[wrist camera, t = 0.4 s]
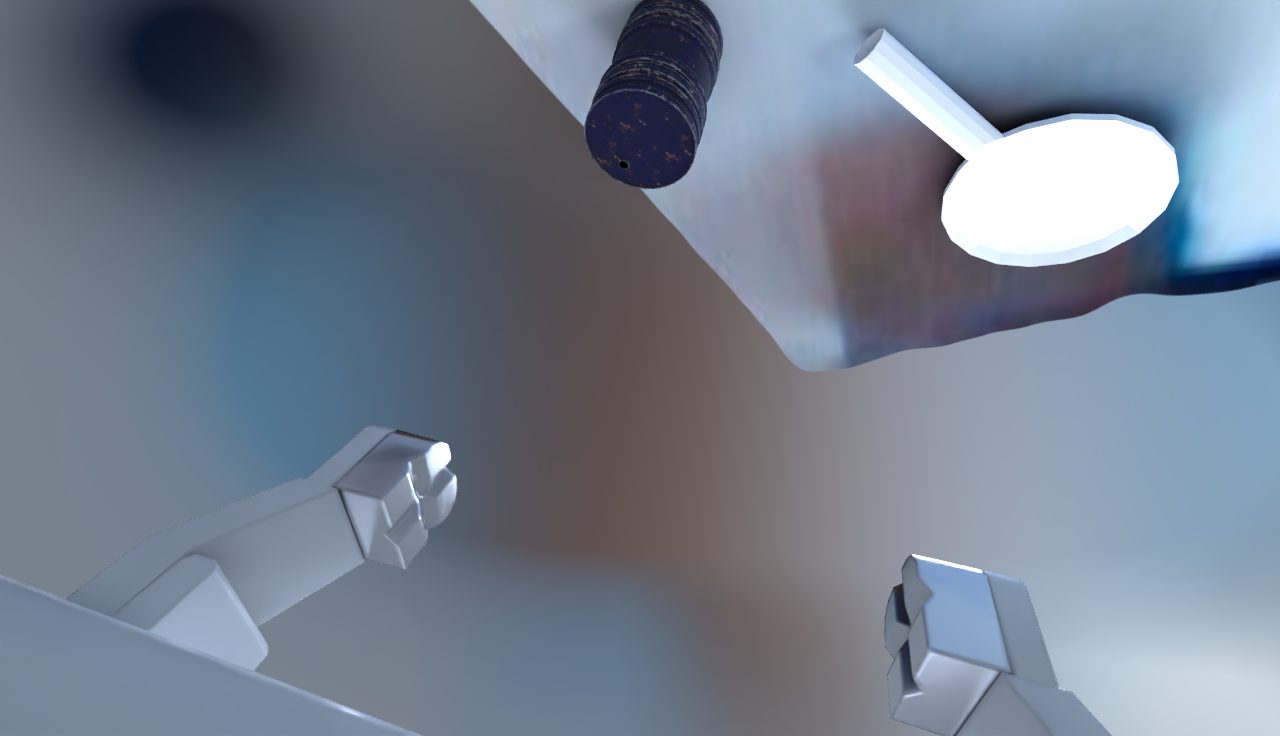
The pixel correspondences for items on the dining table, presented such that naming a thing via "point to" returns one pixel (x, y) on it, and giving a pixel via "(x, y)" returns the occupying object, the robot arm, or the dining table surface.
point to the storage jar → (655, 94)
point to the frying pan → (1032, 170)
